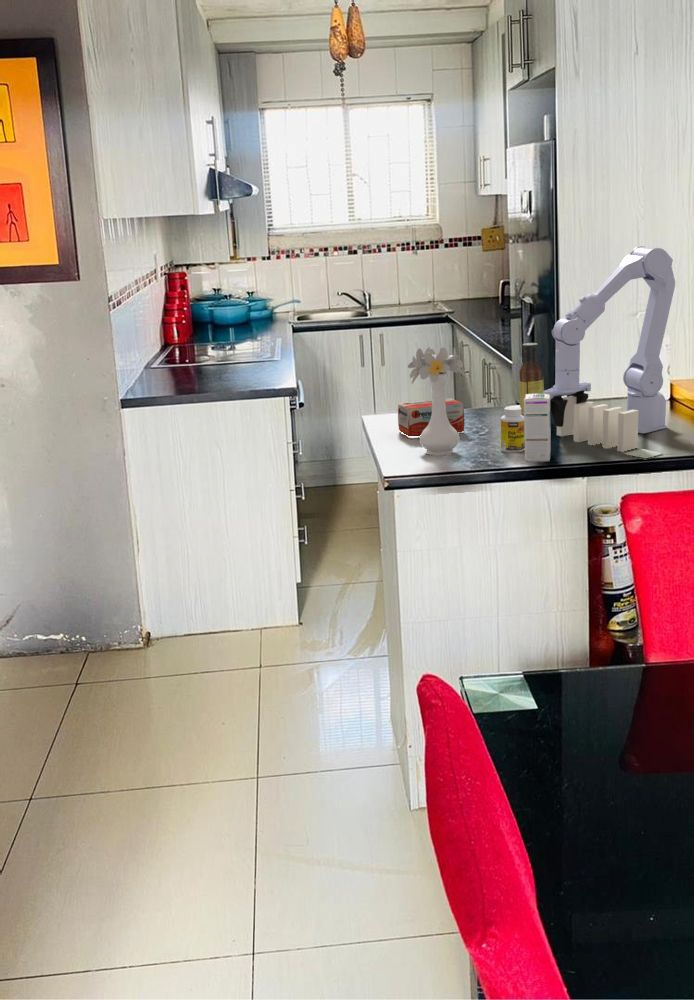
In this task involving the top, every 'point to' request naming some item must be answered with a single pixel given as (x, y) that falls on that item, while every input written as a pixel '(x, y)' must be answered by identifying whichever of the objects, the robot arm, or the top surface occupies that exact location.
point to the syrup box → (537, 427)
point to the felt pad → (643, 453)
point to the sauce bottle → (530, 373)
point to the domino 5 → (627, 430)
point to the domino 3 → (595, 424)
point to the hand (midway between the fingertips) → (566, 424)
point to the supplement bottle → (512, 430)
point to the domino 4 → (610, 427)
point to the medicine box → (427, 416)
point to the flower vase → (437, 398)
